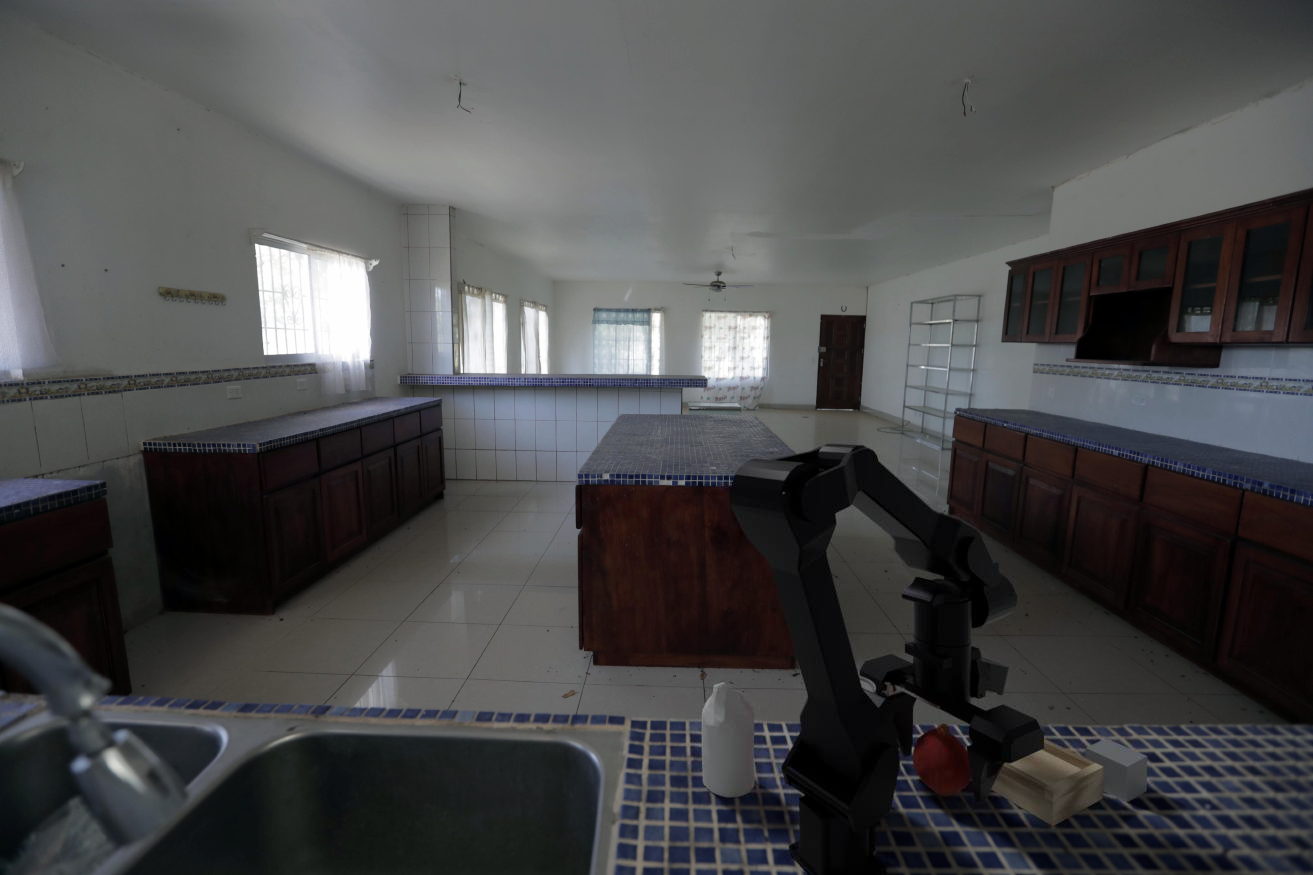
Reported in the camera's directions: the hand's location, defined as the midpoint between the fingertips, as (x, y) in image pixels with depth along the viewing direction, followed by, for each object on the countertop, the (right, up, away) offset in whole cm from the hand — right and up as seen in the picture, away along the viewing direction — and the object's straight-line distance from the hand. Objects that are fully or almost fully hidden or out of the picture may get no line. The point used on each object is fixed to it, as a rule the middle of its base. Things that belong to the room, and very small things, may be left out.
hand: (941, 777), depth 65 cm
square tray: (+11, -2, +1) cm, 11 cm away
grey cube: (+20, -2, +1) cm, 20 cm away
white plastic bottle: (-23, -3, +3) cm, 23 cm away
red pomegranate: (0, -2, 0) cm, 2 cm away
